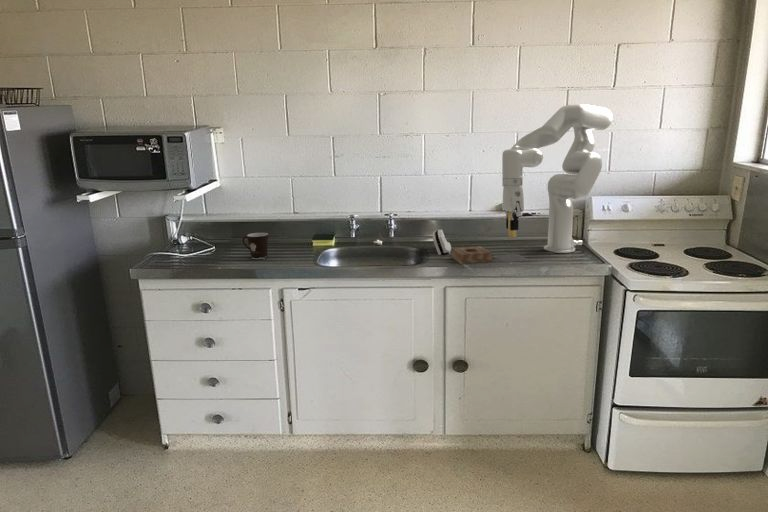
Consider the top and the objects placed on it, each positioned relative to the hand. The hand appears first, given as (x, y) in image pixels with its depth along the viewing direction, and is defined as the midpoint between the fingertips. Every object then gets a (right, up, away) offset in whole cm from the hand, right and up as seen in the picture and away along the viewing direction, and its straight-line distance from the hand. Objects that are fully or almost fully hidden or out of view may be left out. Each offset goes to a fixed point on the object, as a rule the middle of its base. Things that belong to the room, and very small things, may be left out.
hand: (512, 228), depth 221 cm
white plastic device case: (-25, -9, +21) cm, 34 cm away
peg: (0, -3, +1) cm, 3 cm away
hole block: (-16, -12, +2) cm, 20 cm away
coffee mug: (-103, -11, +16) cm, 105 cm away
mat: (0, -12, +2) cm, 12 cm away
